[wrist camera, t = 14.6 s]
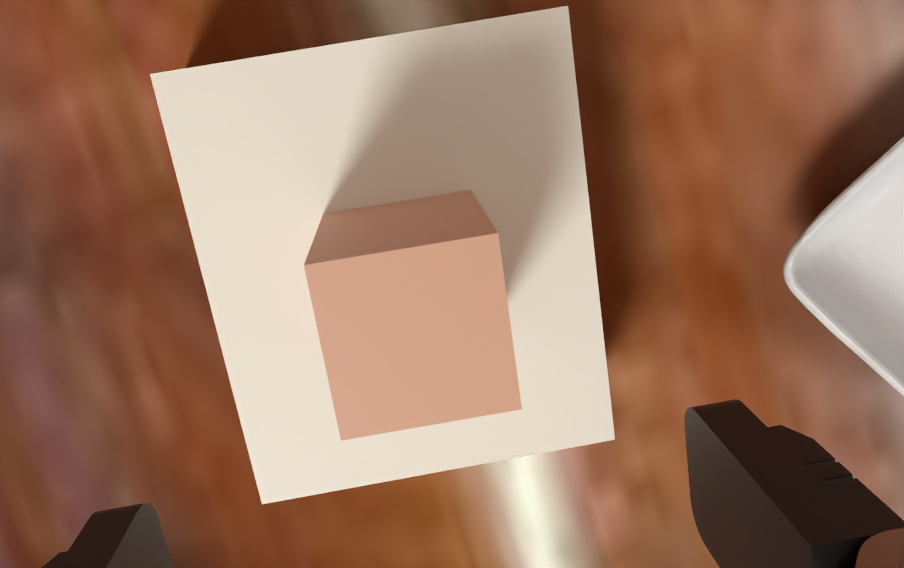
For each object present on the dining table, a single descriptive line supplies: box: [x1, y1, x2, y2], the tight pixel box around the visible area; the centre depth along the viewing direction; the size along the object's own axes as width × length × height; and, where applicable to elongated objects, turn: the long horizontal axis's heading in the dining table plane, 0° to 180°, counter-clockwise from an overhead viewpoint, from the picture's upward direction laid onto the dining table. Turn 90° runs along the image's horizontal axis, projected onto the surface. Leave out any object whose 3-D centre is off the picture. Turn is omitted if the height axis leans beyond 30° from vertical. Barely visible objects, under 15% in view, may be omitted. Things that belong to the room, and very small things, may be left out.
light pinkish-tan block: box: [304, 190, 522, 441], centre depth 22 cm, size 4×4×6 cm
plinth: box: [150, 6, 615, 504], centre depth 26 cm, size 12×14×4 cm
